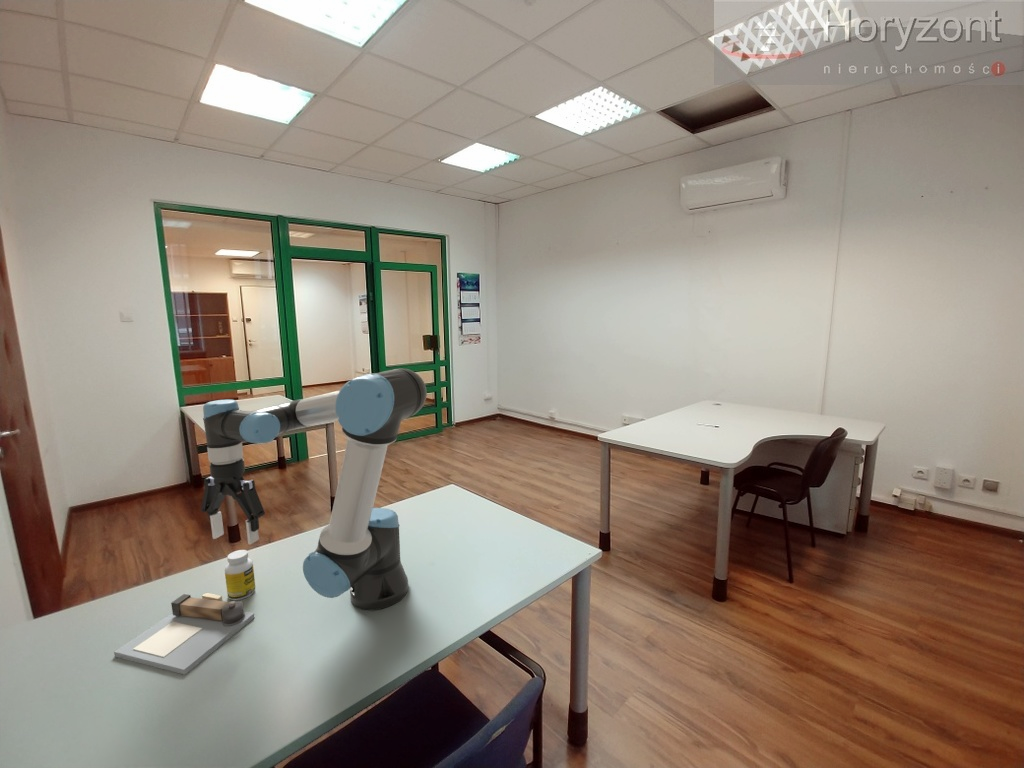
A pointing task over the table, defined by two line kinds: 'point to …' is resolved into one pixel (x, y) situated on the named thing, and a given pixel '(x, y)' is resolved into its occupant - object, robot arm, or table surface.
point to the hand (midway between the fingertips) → (235, 539)
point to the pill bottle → (239, 575)
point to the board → (180, 641)
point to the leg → (208, 609)
